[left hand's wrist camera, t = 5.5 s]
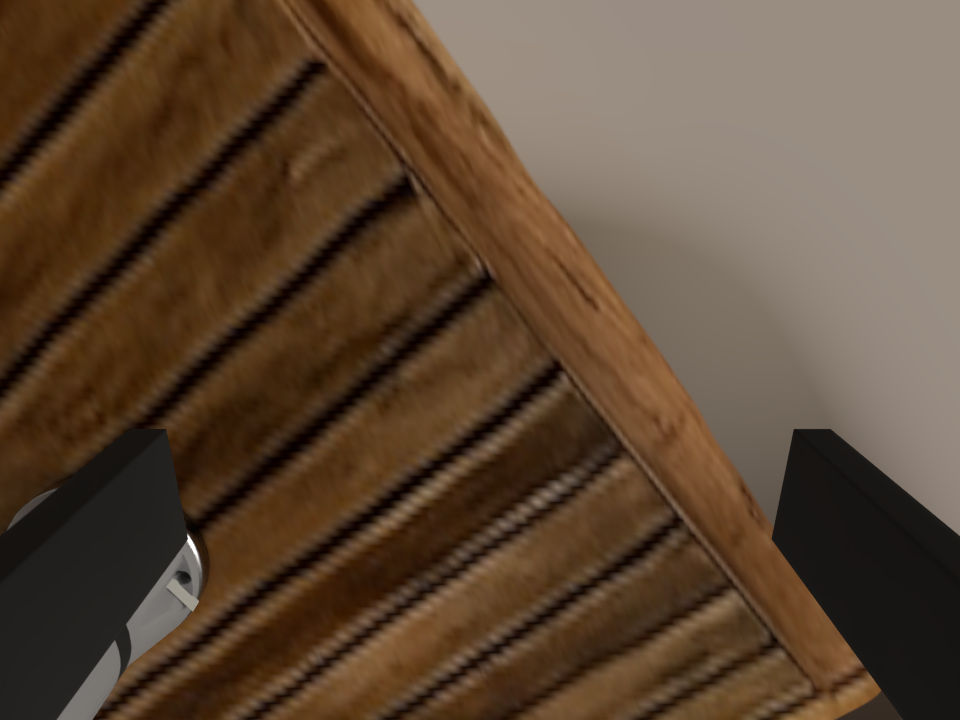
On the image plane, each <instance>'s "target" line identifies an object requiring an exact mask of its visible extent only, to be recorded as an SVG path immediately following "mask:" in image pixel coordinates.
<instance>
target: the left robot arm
mask: <svg viewBox="0 0 960 720" xmlns="http://www.w3.org/2000/svg"><path fill="white" fill-rule="evenodd" d="M772 540H773V542H774V543H775V545H776V546H777V547H778V549H779V550H780V551H781V553H782V554H783V555H784V557H785V558H786V560H787V561H788V562H789V564H790V565H791V566H792V568H793V569H794V571H795V572H796V573H797V575H798V576H799V577H800V579H801V580H802V582H803V583H804V584H805V586H806V587H807V588H808V590H809V591H810V593H811V594H812V595H813V597H814V598H815V599H816V601H817V602H818V603H819V605H820V606H821V608H822V609H823V610H824V612H825V613H826V614H827V616H828V617H829V619H830V620H831V621H832V623H833V624H834V625H835V627H836V628H837V630H838V631H839V632H840V634H841V635H842V636H843V638H844V639H845V641H846V642H847V643H848V645H849V646H850V647H851V649H852V650H853V652H854V653H855V654H856V656H857V657H858V658H859V660H860V661H861V662H862V664H863V665H864V667H865V668H866V669H867V671H868V672H869V673H870V675H871V676H872V678H873V679H874V680H875V682H876V683H877V684H878V686H879V687H880V689H881V690H882V691H883V693H884V694H885V695H886V697H887V698H888V699H889V701H890V702H891V704H892V705H893V706H894V708H895V709H896V710H897V712H898V713H899V715H900V716H901V717H902V719H903V720H960V536H959V535H958V534H957V533H955V532H954V531H953V530H952V529H951V528H949V527H948V526H947V525H946V524H945V523H943V522H942V521H941V520H940V519H938V518H937V517H936V516H935V515H934V514H932V513H931V512H930V511H929V510H928V509H926V508H925V507H924V506H923V505H922V504H920V503H919V502H918V501H917V500H915V499H914V498H913V497H912V496H911V495H909V494H908V493H907V492H906V491H905V490H903V489H902V488H901V487H900V486H899V485H897V484H896V483H895V482H894V481H893V480H891V479H890V478H889V477H888V476H887V475H885V474H884V473H883V472H882V471H880V470H879V469H878V468H877V467H876V466H874V465H873V464H872V463H871V462H870V461H868V460H867V459H866V458H865V457H864V456H862V455H861V454H860V453H859V452H858V451H856V450H855V449H854V448H853V447H851V446H850V445H849V444H848V443H847V442H845V441H844V440H843V439H842V438H841V437H839V436H838V435H837V434H836V433H835V432H833V431H832V430H831V429H794V431H793V436H792V441H791V446H790V451H789V456H788V461H787V466H786V471H785V476H784V481H783V485H782V491H781V495H780V501H779V505H778V510H777V515H776V520H775V525H774V530H773V535H772ZM208 575H209V558H208V553H207V549H206V546H205V543H204V541H203V538H202V536H201V534H200V533H199V531H198V529H197V527H196V526H195V525H194V523H193V522H192V520H191V519H190V518H189V517H188V516H187V515H186V514H185V513H184V512H183V510H182V505H181V500H180V495H179V490H178V485H177V481H176V476H175V471H174V466H173V461H172V456H171V451H170V446H169V441H168V436H167V431H166V429H129V430H128V431H127V432H125V433H124V434H123V435H122V436H121V437H119V438H118V439H117V440H116V441H115V442H113V443H112V444H111V445H110V446H109V447H107V448H106V449H105V450H104V451H102V452H101V453H100V454H99V455H98V456H96V457H95V458H94V459H93V460H92V461H90V462H89V463H88V464H87V465H86V466H84V467H83V468H82V469H81V470H80V471H78V472H77V473H76V474H75V475H73V476H72V477H71V478H69V479H65V480H62V481H60V482H57V483H55V484H53V485H51V486H50V487H48V488H46V489H45V490H44V491H42V492H41V493H40V494H38V495H37V496H36V497H35V498H33V499H32V500H31V501H30V502H28V503H27V504H26V505H25V506H24V507H23V508H22V509H21V510H20V511H19V512H18V513H17V514H16V516H15V517H14V519H13V520H12V522H11V524H10V525H9V527H8V529H7V531H6V532H5V533H3V534H2V535H1V536H0V720H92V719H93V718H94V716H95V715H96V713H97V712H98V710H99V709H100V707H101V706H102V704H103V703H104V701H105V700H106V698H107V697H108V695H109V694H110V692H111V691H112V689H113V688H114V686H115V684H116V683H117V681H118V680H119V678H120V677H121V675H122V674H123V672H124V671H125V669H126V668H127V667H128V666H129V665H130V664H131V663H132V662H134V661H135V660H136V659H137V658H139V657H140V656H141V655H142V654H144V653H145V652H146V651H147V650H149V649H150V648H151V647H152V646H154V645H155V644H156V643H157V642H159V641H160V640H161V639H162V638H164V637H165V636H166V635H167V634H169V633H170V632H171V631H172V630H174V629H175V628H176V627H177V626H179V625H180V624H181V623H182V622H183V621H184V620H185V619H186V618H187V617H188V615H189V614H190V613H191V611H193V610H194V609H195V607H196V606H197V604H198V602H199V601H198V600H199V598H200V597H201V595H202V593H203V591H204V589H205V587H206V584H207V580H208Z"/></svg>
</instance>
